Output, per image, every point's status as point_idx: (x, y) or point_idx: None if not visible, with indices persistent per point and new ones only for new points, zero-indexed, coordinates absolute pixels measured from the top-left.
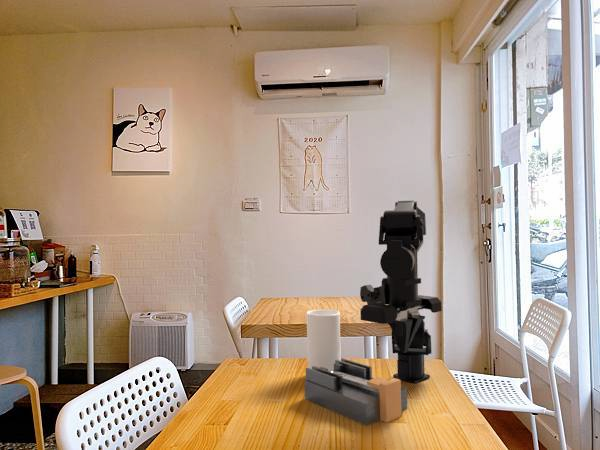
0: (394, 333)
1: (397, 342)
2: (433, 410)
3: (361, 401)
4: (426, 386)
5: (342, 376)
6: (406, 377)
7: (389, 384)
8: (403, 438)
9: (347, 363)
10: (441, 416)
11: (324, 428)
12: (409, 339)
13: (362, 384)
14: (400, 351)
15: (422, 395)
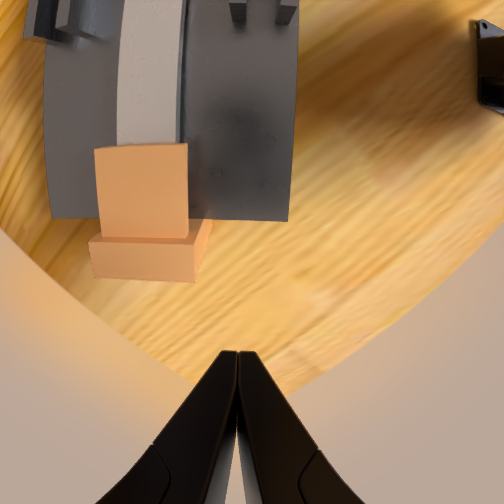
0: (136, 472)
1: (188, 402)
2: (324, 264)
3: (52, 190)
4: (479, 145)
5: (67, 26)
6: (482, 75)
7: (116, 277)
8: (114, 303)
9: None
10: (299, 300)
11: (6, 139)
12: (243, 481)
13: (117, 104)
14: (220, 353)
15: (413, 173)
